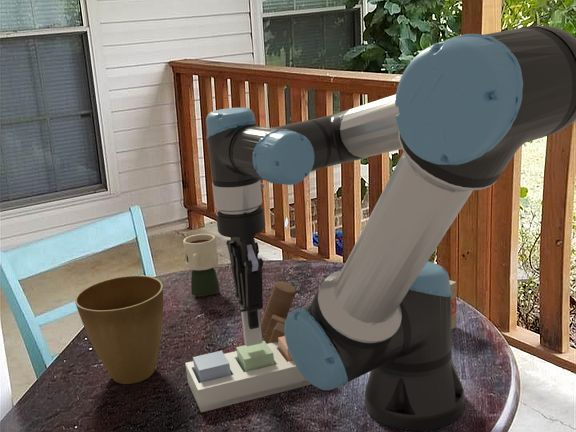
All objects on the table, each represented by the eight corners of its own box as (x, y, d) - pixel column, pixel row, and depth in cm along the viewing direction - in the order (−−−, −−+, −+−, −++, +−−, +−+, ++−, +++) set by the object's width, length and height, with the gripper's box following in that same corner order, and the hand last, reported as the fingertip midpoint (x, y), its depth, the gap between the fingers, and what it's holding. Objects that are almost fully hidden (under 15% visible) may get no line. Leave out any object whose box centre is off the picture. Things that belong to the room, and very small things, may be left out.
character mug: (195, 284, 170) (189, 231, 166) (226, 283, 169) (220, 230, 165) (184, 304, 160) (176, 247, 156) (216, 303, 159) (209, 246, 155)
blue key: (231, 382, 120) (229, 363, 119) (201, 389, 119) (199, 370, 118) (224, 369, 125) (221, 350, 124) (195, 376, 124) (192, 357, 123)
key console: (329, 379, 124) (327, 358, 122) (201, 412, 117) (198, 390, 116) (308, 354, 133) (306, 334, 132) (188, 383, 126) (185, 362, 125)
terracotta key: (317, 361, 125) (315, 342, 124) (289, 368, 123) (287, 349, 122) (306, 349, 129) (305, 331, 128) (279, 355, 128) (278, 337, 127)
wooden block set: (285, 374, 132) (303, 328, 127) (241, 355, 133) (257, 309, 128) (308, 326, 148) (325, 284, 144) (269, 309, 149) (284, 267, 145)
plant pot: (109, 354, 140) (96, 275, 135) (184, 354, 137) (173, 274, 132) (75, 396, 125) (59, 309, 121) (158, 397, 123) (145, 309, 118)
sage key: (275, 371, 123) (273, 352, 122) (246, 378, 121) (244, 359, 120) (266, 359, 127) (264, 340, 126) (238, 365, 126) (236, 347, 125)
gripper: (274, 213, 111) (287, 354, 118) (250, 194, 123) (263, 323, 130) (226, 222, 109) (242, 365, 116) (206, 201, 121) (222, 332, 128)
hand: (253, 342), depth 123 cm, fingers closed
